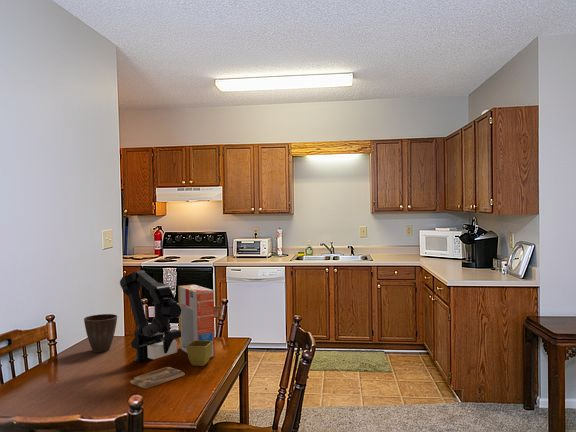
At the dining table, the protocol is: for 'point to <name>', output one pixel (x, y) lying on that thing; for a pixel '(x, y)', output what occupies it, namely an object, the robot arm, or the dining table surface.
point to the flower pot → (199, 352)
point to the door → (161, 350)
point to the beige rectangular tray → (156, 377)
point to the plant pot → (100, 331)
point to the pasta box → (196, 315)
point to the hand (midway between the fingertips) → (162, 352)
